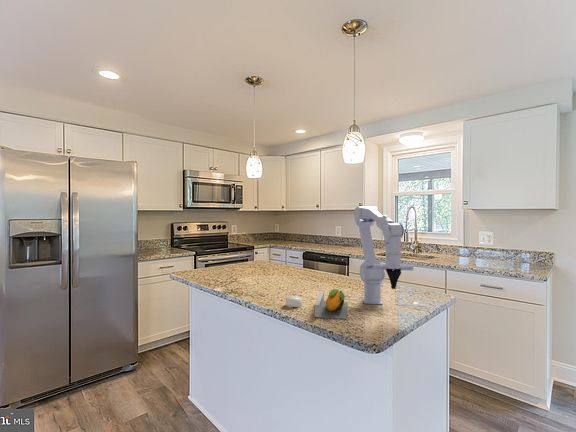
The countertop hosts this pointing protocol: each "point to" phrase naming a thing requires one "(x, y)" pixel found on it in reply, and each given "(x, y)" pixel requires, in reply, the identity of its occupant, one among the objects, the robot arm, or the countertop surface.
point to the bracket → (325, 313)
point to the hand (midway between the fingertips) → (393, 288)
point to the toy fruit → (335, 300)
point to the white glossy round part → (293, 301)
